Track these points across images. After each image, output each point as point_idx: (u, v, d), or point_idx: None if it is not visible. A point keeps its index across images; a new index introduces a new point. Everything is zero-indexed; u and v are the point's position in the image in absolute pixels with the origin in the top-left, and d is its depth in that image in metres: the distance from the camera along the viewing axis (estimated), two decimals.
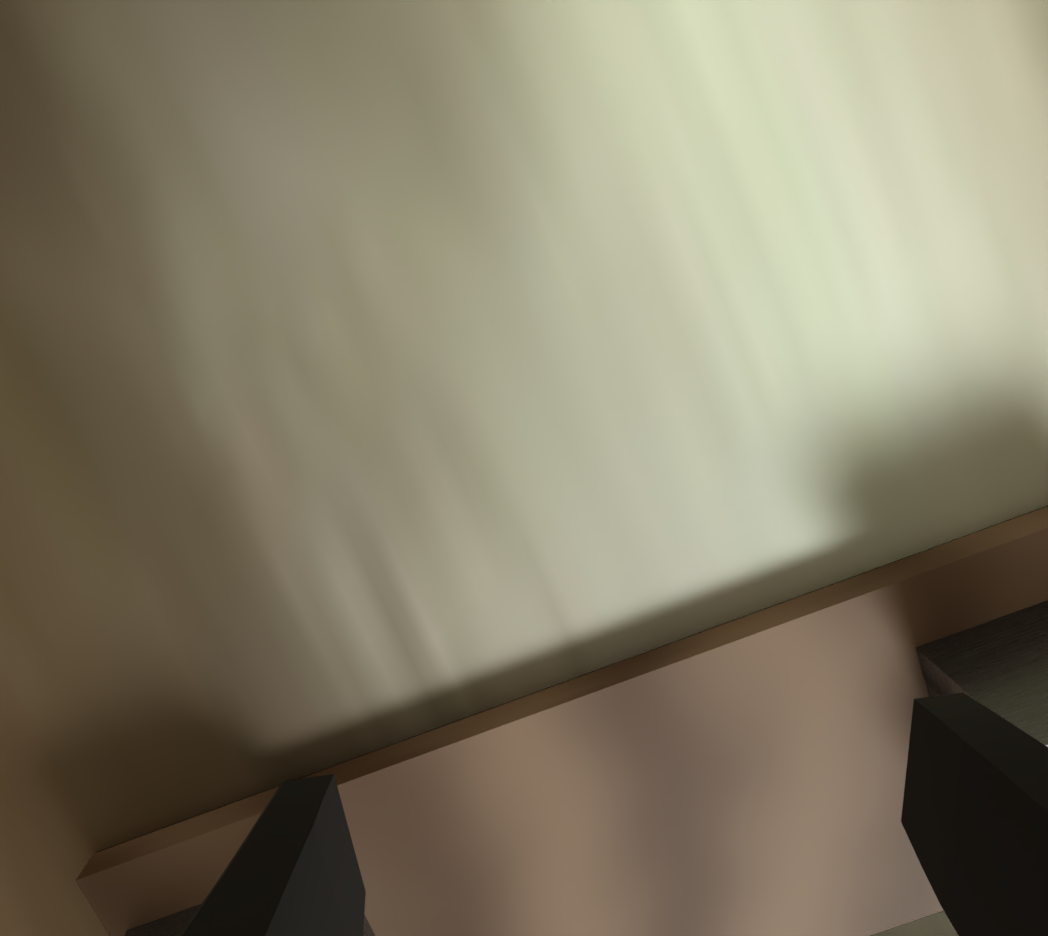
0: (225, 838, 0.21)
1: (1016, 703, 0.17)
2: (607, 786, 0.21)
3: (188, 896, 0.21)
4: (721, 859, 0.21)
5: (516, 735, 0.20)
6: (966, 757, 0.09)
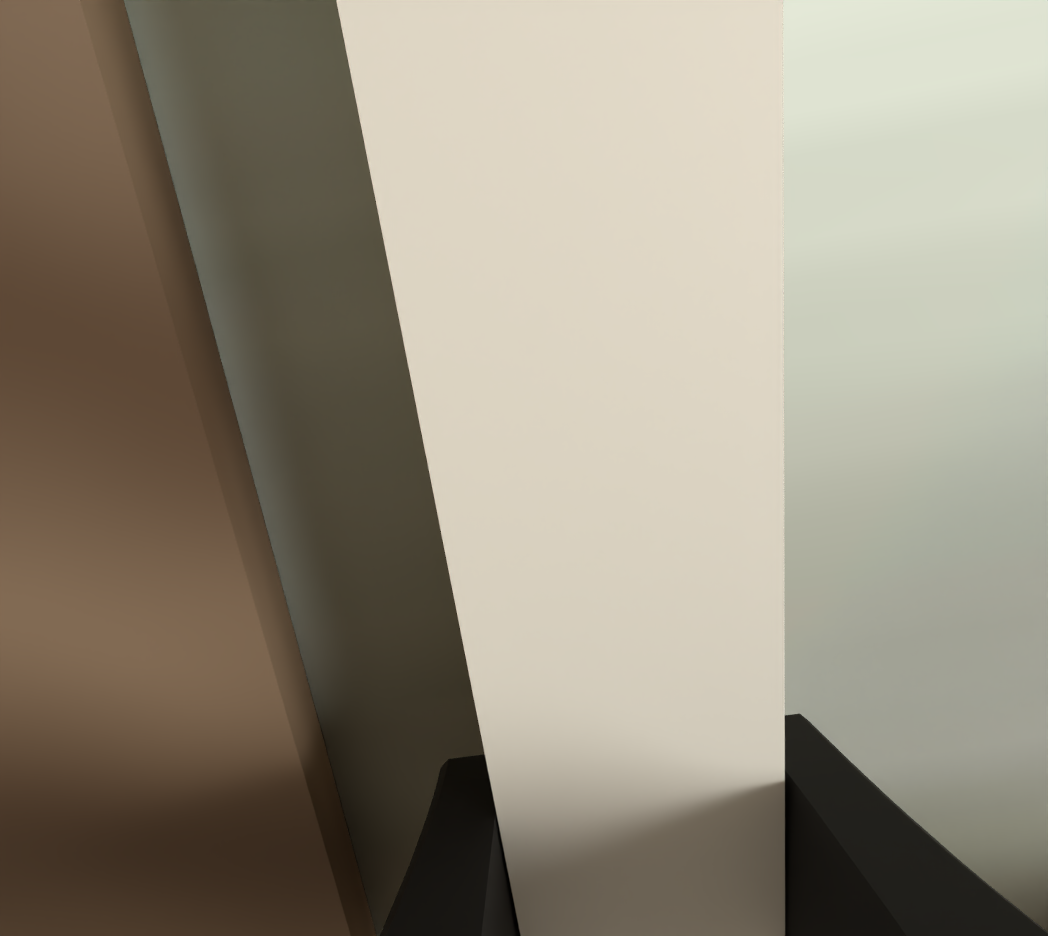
0: None
1: None
2: None
3: None
4: None
5: None
6: None
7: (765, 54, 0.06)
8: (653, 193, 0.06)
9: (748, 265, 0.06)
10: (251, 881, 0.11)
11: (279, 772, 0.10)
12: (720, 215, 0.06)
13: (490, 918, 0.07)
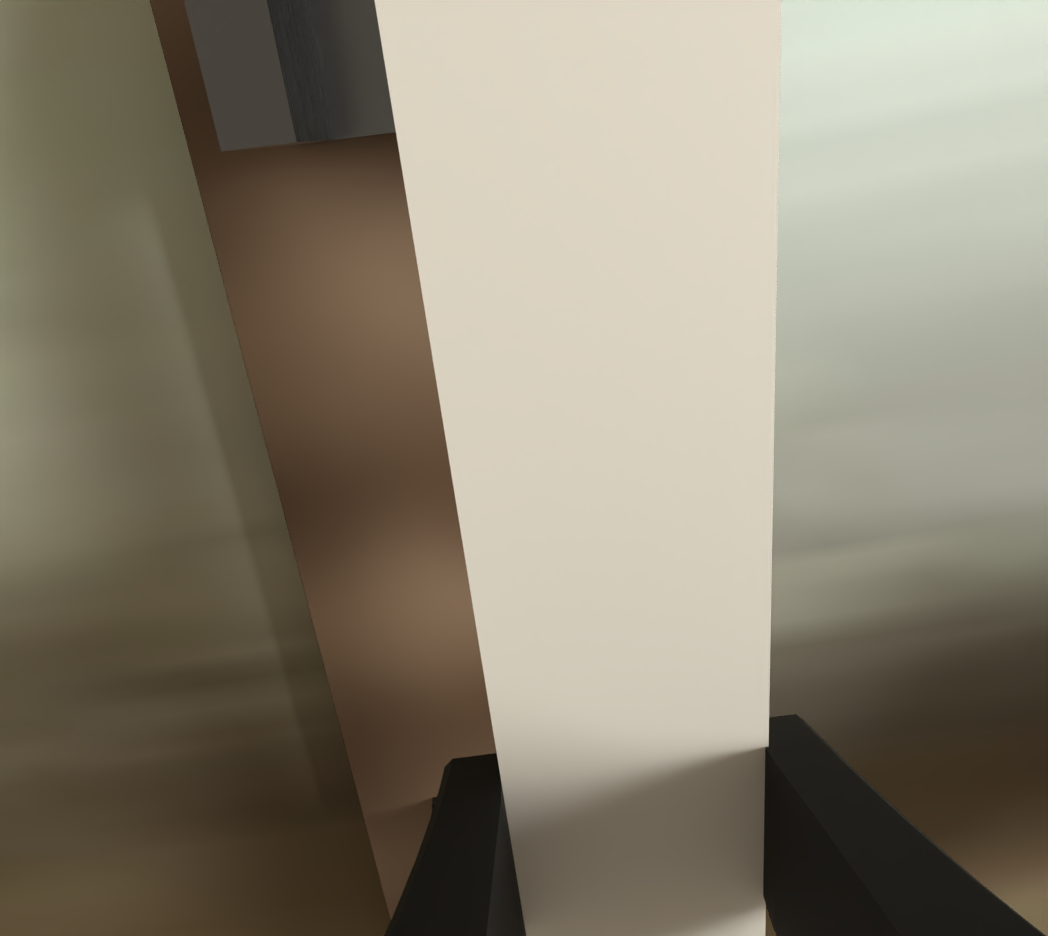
0: (389, 869, 0.22)
1: None
2: (415, 548, 0.18)
3: None
4: None
5: (330, 623, 0.19)
6: (779, 781, 0.08)
7: (764, 57, 0.06)
8: (658, 183, 0.06)
9: (744, 250, 0.07)
10: None
11: None
12: (720, 204, 0.06)
13: (495, 917, 0.07)
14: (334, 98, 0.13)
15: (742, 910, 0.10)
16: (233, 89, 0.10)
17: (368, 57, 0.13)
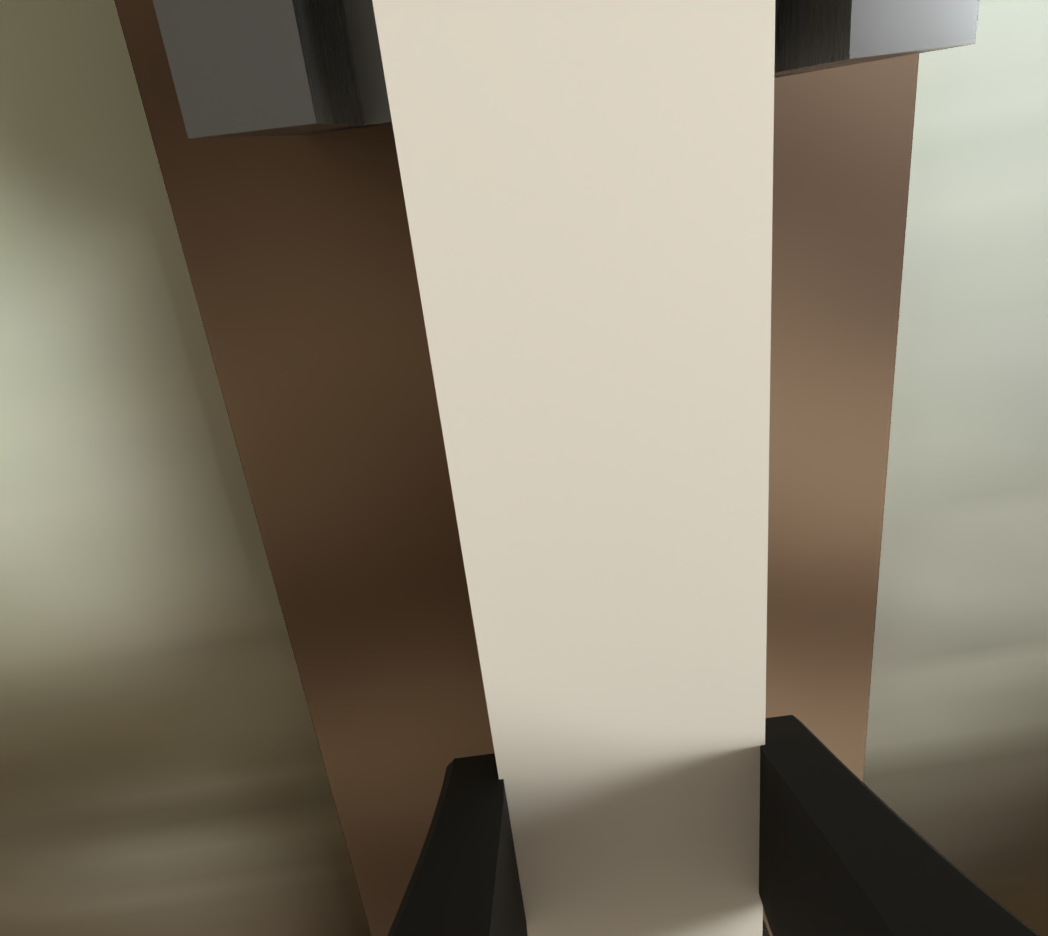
0: None
1: None
2: (458, 666, 0.14)
3: None
4: None
5: (345, 758, 0.14)
6: (775, 782, 0.08)
7: (758, 59, 0.06)
8: (654, 183, 0.06)
9: (739, 251, 0.07)
10: (813, 642, 0.14)
11: (863, 546, 0.13)
12: (715, 205, 0.07)
13: (498, 917, 0.07)
14: (365, 63, 0.09)
15: (739, 909, 0.10)
16: (208, 30, 0.06)
17: None
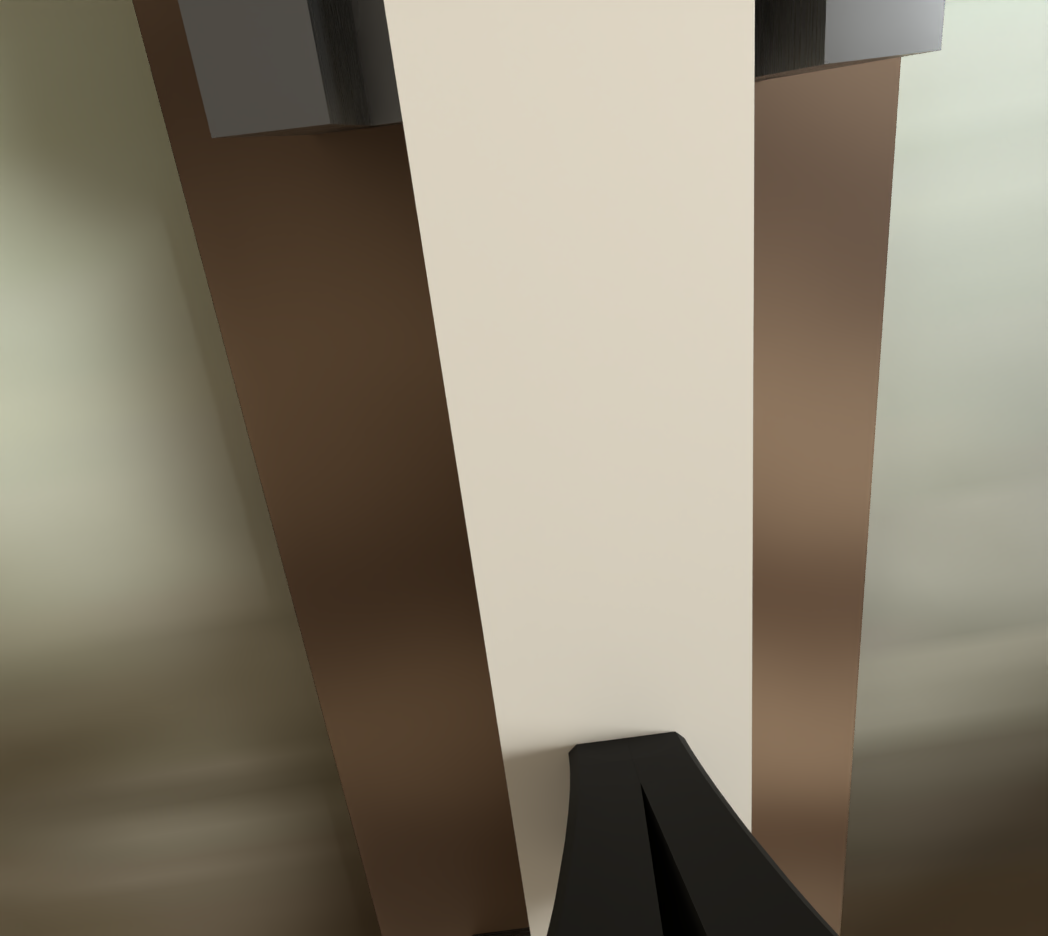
0: None
1: None
2: (460, 648, 0.14)
3: None
4: None
5: (350, 737, 0.15)
6: (643, 799, 0.08)
7: (739, 64, 0.07)
8: (644, 179, 0.07)
9: (723, 242, 0.07)
10: (803, 624, 0.14)
11: (851, 532, 0.14)
12: (700, 199, 0.07)
13: None
14: (373, 67, 0.09)
15: None
16: (232, 38, 0.06)
17: None
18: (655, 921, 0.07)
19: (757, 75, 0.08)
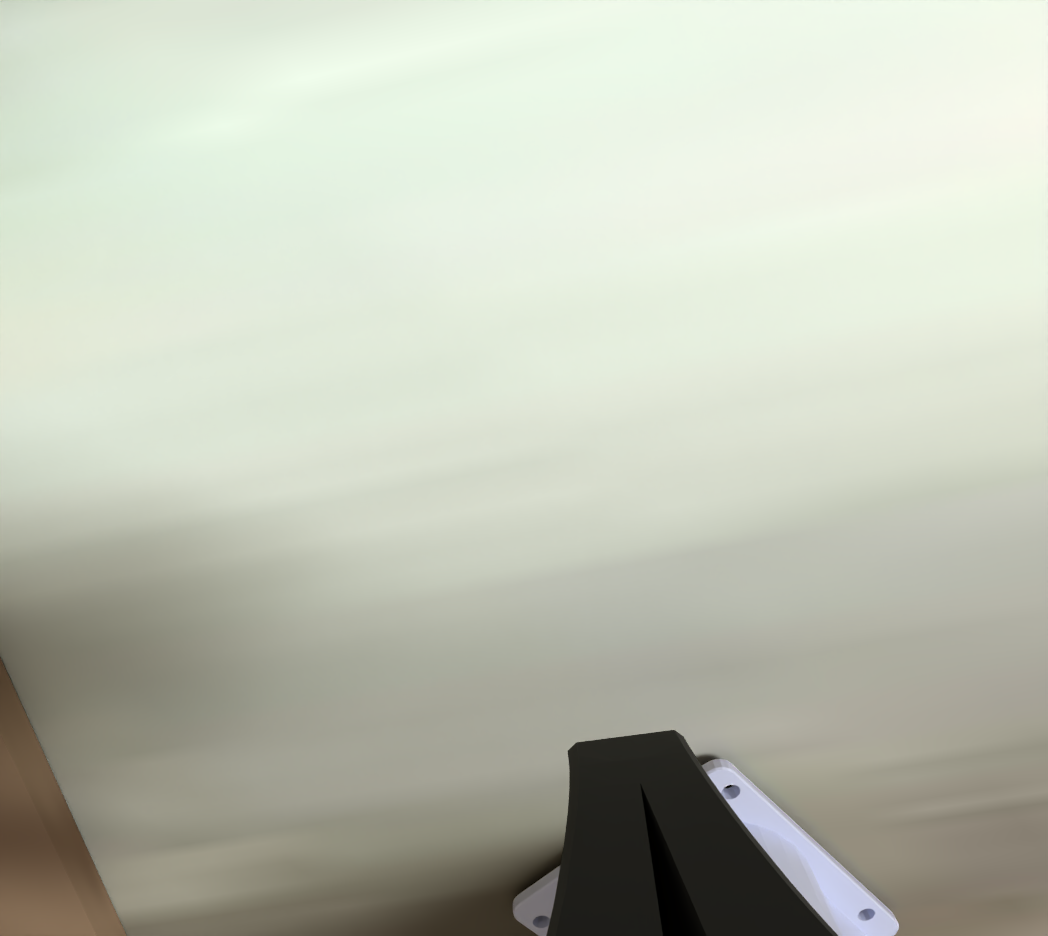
0: None
1: None
2: None
3: None
4: None
5: None
6: (642, 799, 0.08)
7: None
8: None
9: None
10: (14, 854, 0.21)
11: (19, 799, 0.20)
12: None
13: None
14: None
15: None
16: None
17: None
18: (655, 921, 0.07)
19: None
